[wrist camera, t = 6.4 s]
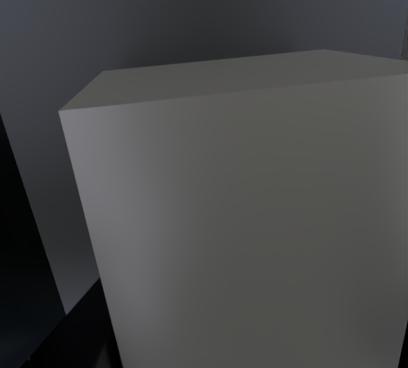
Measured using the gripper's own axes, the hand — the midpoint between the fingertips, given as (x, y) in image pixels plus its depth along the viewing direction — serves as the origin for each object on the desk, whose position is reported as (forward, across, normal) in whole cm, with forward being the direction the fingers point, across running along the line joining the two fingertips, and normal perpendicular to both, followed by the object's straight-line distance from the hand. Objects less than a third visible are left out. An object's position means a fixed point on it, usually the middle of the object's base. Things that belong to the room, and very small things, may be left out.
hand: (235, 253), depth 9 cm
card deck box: (+1, 0, 0) cm, 1 cm away
